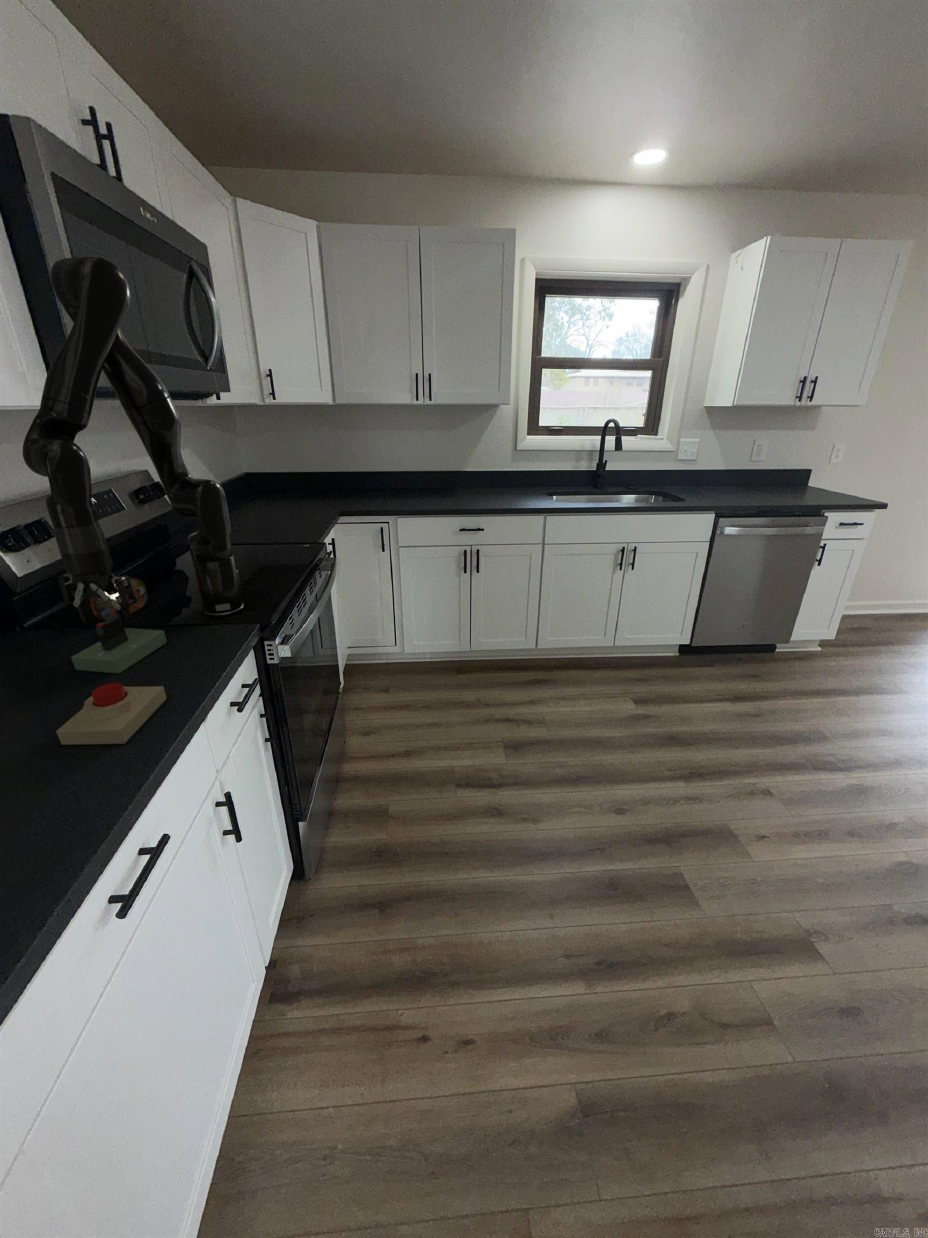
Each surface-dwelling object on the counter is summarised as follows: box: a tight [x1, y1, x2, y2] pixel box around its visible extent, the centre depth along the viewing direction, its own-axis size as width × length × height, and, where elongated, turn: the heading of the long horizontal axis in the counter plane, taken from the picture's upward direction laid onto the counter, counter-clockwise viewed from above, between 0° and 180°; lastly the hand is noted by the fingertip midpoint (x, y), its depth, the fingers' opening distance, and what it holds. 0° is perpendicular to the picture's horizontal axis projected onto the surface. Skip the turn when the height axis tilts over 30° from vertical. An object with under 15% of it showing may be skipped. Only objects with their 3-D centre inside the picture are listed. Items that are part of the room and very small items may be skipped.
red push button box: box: [55, 685, 168, 746], centre depth 84 cm, size 13×10×4 cm
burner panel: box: [70, 627, 168, 674], centre depth 106 cm, size 14×10×3 cm
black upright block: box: [94, 616, 128, 651], centre depth 103 cm, size 5×2×6 cm, turn 171°
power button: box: [91, 682, 126, 707], centre depth 83 cm, size 4×4×2 cm
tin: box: [89, 577, 149, 621], centre depth 125 cm, size 15×3×8 cm, turn 168°
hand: (107, 623), depth 102 cm, fingers open, 8 cm apart
